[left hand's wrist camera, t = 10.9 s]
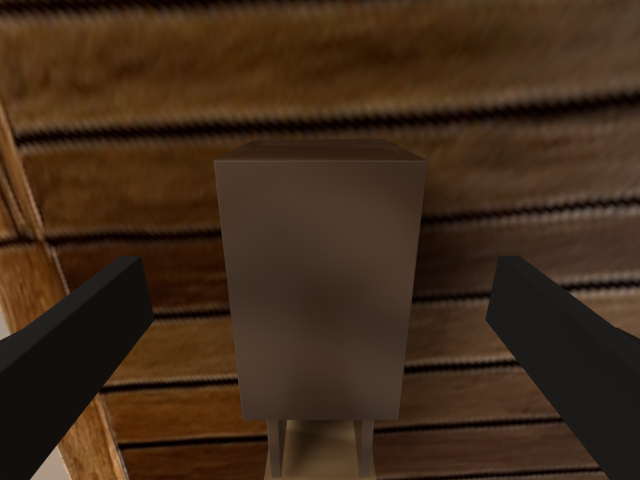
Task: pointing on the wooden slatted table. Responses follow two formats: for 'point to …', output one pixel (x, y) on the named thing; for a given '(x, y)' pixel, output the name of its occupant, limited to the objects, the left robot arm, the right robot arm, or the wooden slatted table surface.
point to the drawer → (320, 450)
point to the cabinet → (320, 273)
